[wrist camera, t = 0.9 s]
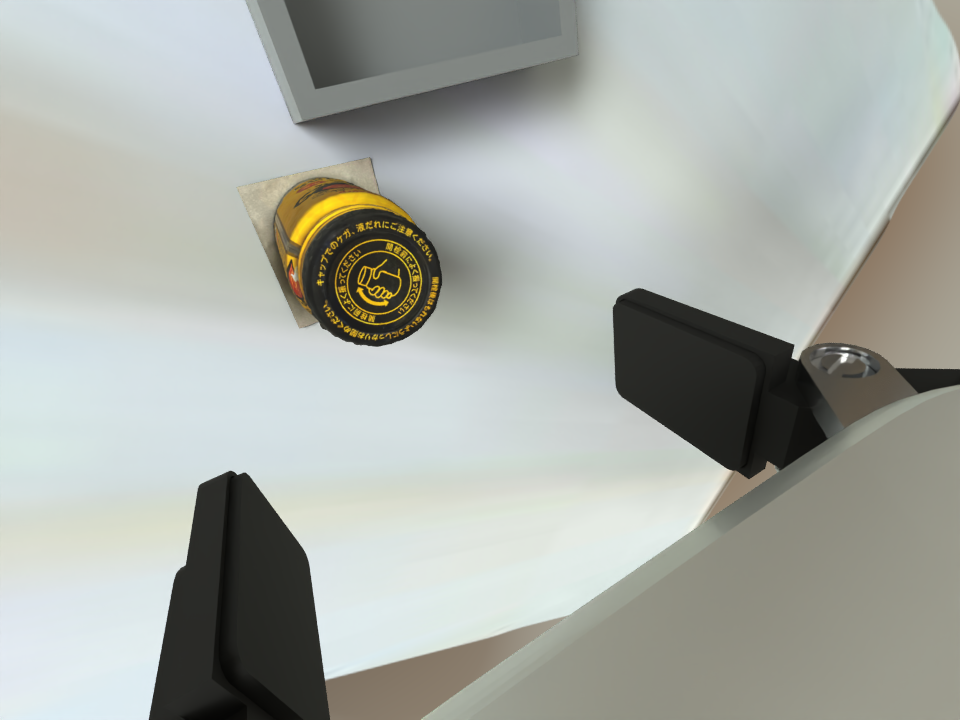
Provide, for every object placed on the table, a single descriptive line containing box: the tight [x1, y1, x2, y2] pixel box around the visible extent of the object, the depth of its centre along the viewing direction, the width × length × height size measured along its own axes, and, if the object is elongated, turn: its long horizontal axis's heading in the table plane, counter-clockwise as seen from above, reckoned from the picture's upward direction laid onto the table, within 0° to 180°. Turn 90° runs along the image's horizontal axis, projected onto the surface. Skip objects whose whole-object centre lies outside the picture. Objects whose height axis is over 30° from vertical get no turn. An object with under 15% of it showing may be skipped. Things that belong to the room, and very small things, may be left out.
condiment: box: [237, 157, 442, 347], centre depth 21 cm, size 7×8×12 cm
